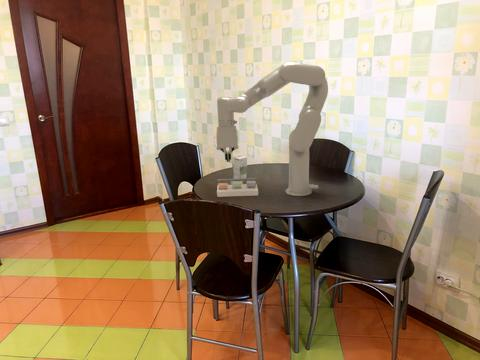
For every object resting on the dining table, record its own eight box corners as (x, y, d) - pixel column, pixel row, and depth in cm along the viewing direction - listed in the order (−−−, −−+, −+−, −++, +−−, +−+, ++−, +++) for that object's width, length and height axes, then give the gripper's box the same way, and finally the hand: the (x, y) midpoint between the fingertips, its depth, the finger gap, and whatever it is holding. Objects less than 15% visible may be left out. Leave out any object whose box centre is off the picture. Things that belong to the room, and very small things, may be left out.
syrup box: (240, 180, 210) (239, 155, 206) (247, 182, 206) (247, 156, 202) (232, 182, 206) (231, 156, 202) (240, 184, 202) (239, 158, 198)
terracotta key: (227, 185, 190) (227, 183, 189) (227, 188, 185) (227, 185, 185) (218, 186, 190) (218, 183, 189) (218, 188, 185) (218, 185, 185)
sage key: (241, 183, 190) (241, 181, 189) (242, 186, 185) (241, 183, 185) (232, 184, 190) (232, 181, 189) (232, 186, 185) (232, 183, 185)
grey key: (255, 183, 190) (255, 180, 190) (256, 186, 186) (256, 183, 185) (246, 183, 190) (246, 180, 189) (246, 186, 185) (246, 183, 185)
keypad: (256, 187, 196) (255, 178, 195) (258, 195, 183) (258, 185, 182) (217, 188, 196) (217, 179, 195) (217, 196, 182) (216, 186, 181)
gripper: (241, 122, 183) (243, 158, 188) (210, 123, 183) (213, 160, 188) (242, 123, 176) (243, 162, 181) (210, 125, 175) (212, 163, 180)
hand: (228, 161), depth 184 cm, fingers closed
